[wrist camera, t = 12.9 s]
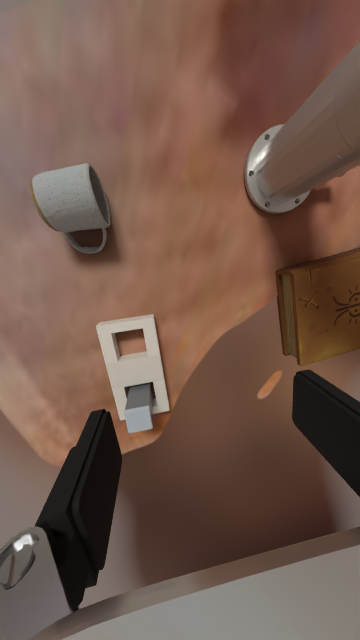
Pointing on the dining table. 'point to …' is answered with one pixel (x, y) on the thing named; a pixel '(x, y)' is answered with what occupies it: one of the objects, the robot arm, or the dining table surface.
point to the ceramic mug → (72, 202)
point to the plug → (139, 408)
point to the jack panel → (133, 361)
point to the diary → (320, 307)
